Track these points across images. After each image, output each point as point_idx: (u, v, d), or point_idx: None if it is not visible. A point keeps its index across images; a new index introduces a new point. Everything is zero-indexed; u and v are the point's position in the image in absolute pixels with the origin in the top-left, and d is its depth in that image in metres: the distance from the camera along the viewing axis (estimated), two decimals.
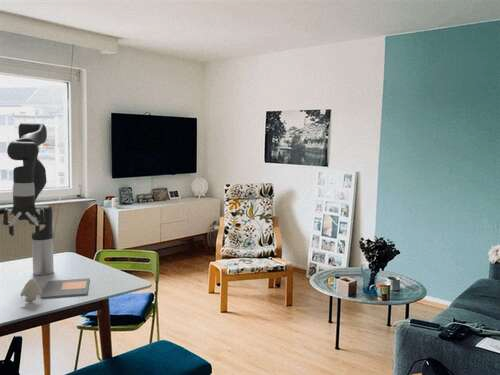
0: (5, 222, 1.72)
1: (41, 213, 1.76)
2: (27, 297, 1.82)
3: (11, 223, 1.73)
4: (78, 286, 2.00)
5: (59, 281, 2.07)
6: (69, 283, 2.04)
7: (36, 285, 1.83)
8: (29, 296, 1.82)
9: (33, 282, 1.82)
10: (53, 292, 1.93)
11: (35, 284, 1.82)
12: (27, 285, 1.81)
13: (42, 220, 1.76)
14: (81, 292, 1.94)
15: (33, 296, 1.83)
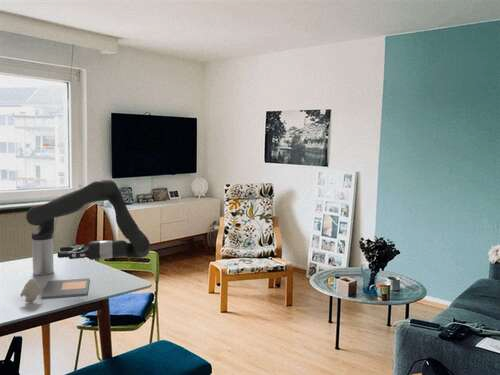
0: None
1: None
2: (27, 297, 1.82)
3: None
4: (78, 286, 2.00)
5: (59, 281, 2.07)
6: (69, 283, 2.04)
7: (36, 285, 1.83)
8: (29, 296, 1.82)
9: (33, 282, 1.82)
10: (53, 292, 1.93)
11: (35, 284, 1.82)
12: (27, 285, 1.81)
13: None
14: (81, 292, 1.94)
15: (33, 296, 1.83)
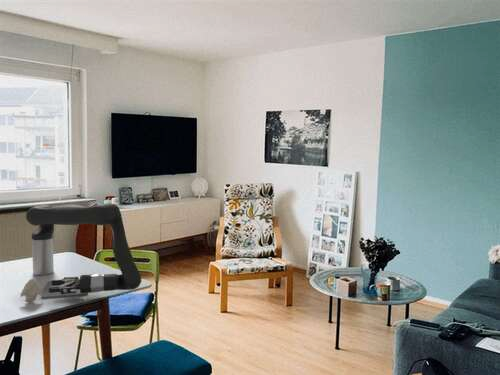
0: None
1: None
2: (27, 297, 1.82)
3: None
4: None
5: None
6: None
7: (36, 285, 1.83)
8: (29, 296, 1.82)
9: (33, 282, 1.82)
10: None
11: (35, 284, 1.82)
12: (27, 285, 1.81)
13: None
14: None
15: (33, 296, 1.83)
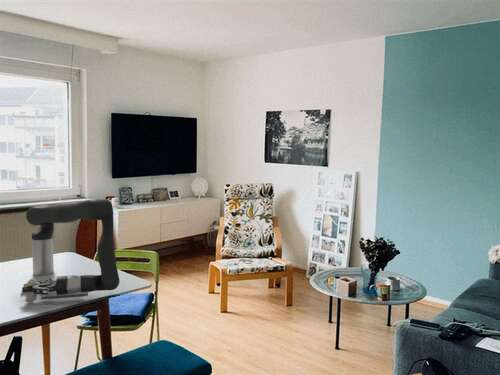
0: None
1: None
2: (27, 297, 1.82)
3: None
4: None
5: None
6: None
7: (36, 285, 1.83)
8: (29, 296, 1.82)
9: (33, 282, 1.82)
10: (53, 292, 1.93)
11: (35, 284, 1.82)
12: (27, 285, 1.81)
13: None
14: None
15: (33, 296, 1.83)
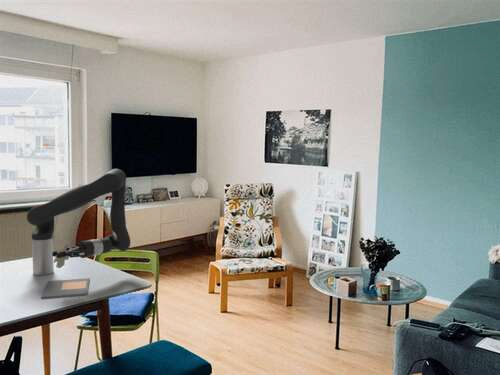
0: None
1: None
2: (58, 263, 1.93)
3: None
4: (78, 286, 2.00)
5: (59, 281, 2.07)
6: (69, 283, 2.04)
7: (65, 251, 1.96)
8: (61, 261, 1.94)
9: (64, 248, 1.94)
10: (53, 292, 1.93)
11: (65, 250, 1.95)
12: (60, 251, 1.93)
13: None
14: (81, 292, 1.94)
15: (63, 261, 1.95)
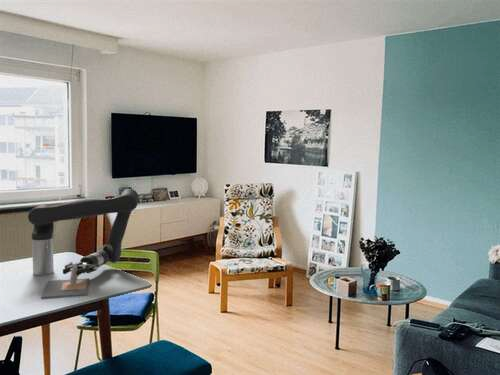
0: None
1: None
2: (73, 281, 2.00)
3: None
4: (78, 286, 2.00)
5: (59, 281, 2.07)
6: (69, 283, 2.04)
7: None
8: (75, 279, 2.01)
9: None
10: (53, 292, 1.93)
11: None
12: (74, 269, 2.00)
13: None
14: (81, 292, 1.94)
15: (76, 278, 2.02)
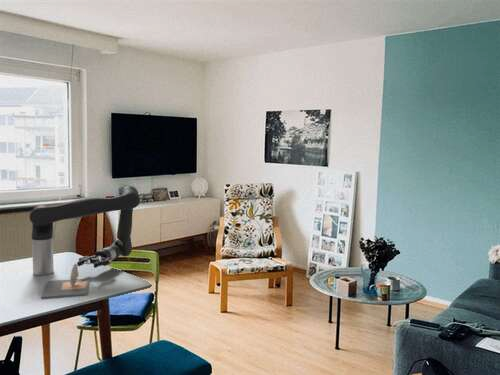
0: None
1: None
2: (73, 281, 2.00)
3: None
4: (78, 286, 2.00)
5: (59, 281, 2.07)
6: (69, 283, 2.04)
7: None
8: (75, 279, 2.01)
9: None
10: (53, 292, 1.93)
11: (77, 267, 2.03)
12: (74, 269, 2.00)
13: None
14: (81, 292, 1.94)
15: (76, 278, 2.02)
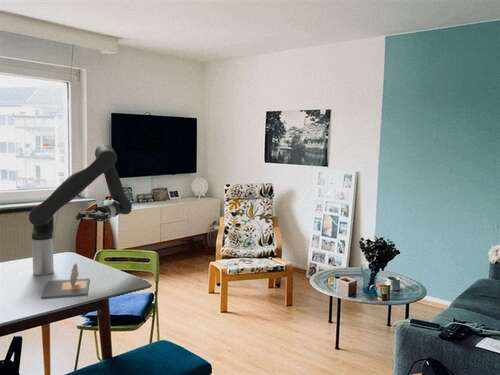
0: None
1: None
2: (73, 281, 2.00)
3: None
4: (78, 286, 2.00)
5: (59, 281, 2.07)
6: (69, 283, 2.04)
7: None
8: (75, 279, 2.01)
9: None
10: (53, 292, 1.93)
11: None
12: (74, 269, 2.00)
13: None
14: (81, 292, 1.94)
15: (76, 278, 2.02)
